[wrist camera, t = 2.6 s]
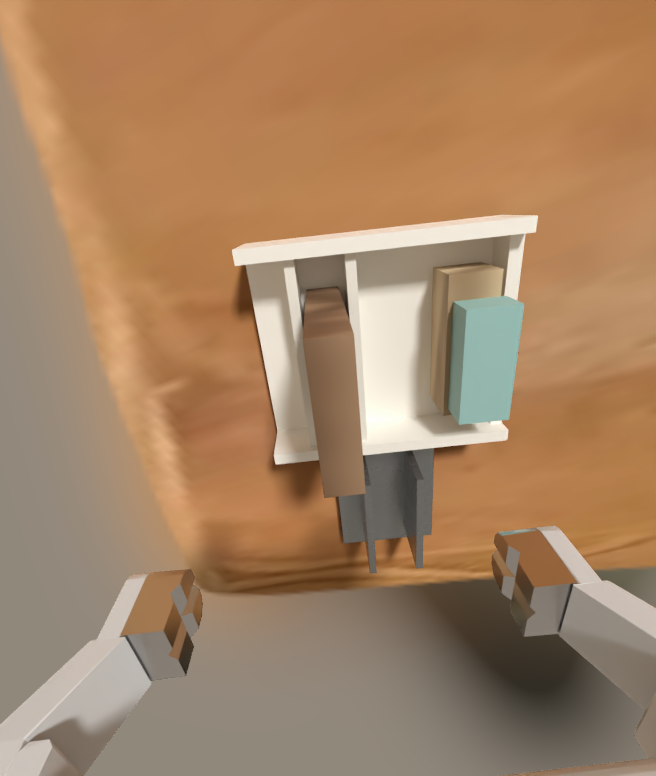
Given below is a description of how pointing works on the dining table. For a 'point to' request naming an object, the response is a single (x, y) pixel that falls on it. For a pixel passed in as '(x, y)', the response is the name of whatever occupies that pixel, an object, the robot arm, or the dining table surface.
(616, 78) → the dining table surface
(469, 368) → the teal offcut
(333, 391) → the walnut board
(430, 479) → the stand
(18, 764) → the robot arm
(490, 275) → the oak offcut
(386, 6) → the dining table surface
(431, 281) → the rack
